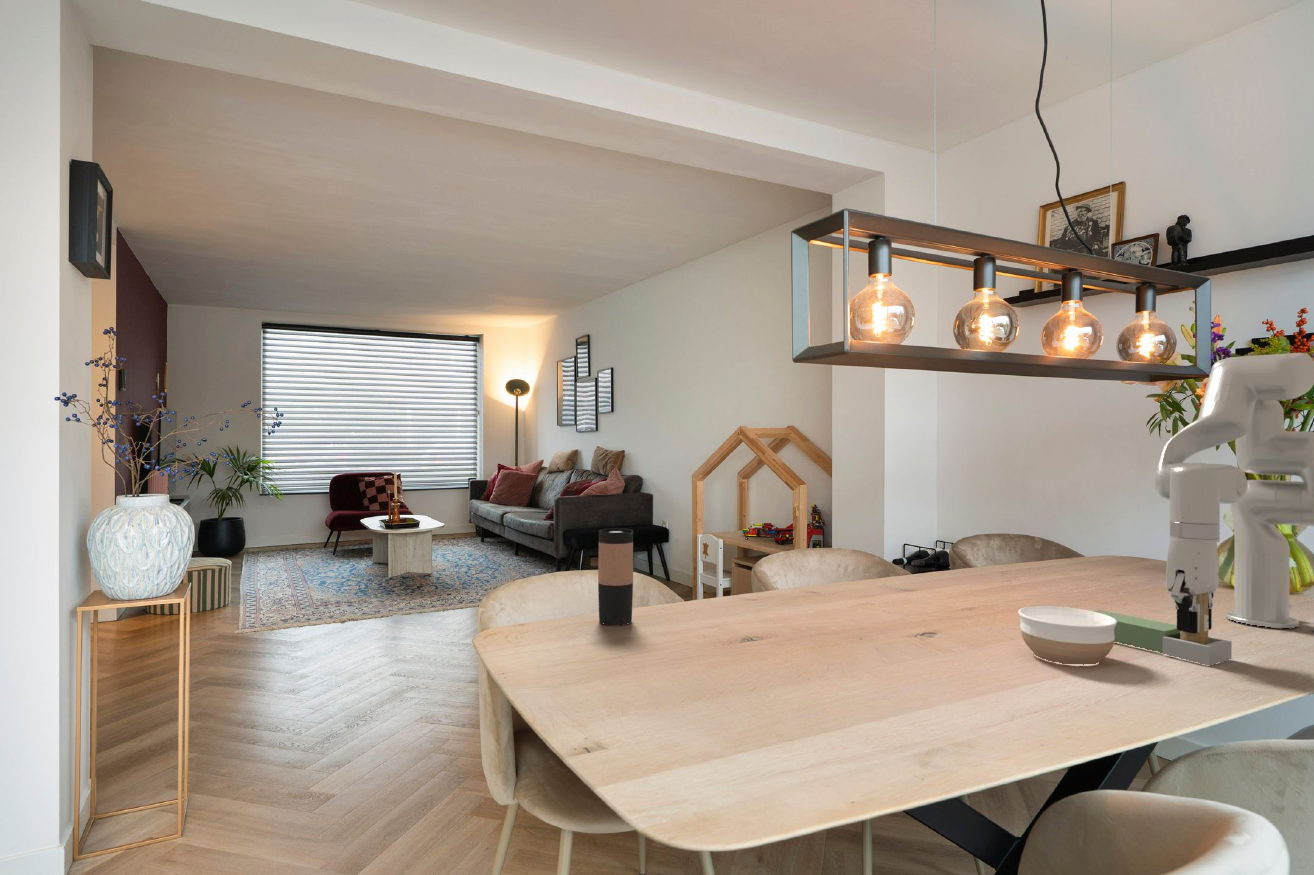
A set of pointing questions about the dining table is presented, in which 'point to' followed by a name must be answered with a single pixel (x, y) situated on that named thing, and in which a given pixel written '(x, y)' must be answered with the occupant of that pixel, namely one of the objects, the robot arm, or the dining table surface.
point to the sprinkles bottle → (1199, 620)
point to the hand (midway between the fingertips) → (1194, 629)
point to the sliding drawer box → (1167, 640)
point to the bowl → (1067, 634)
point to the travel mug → (615, 576)
